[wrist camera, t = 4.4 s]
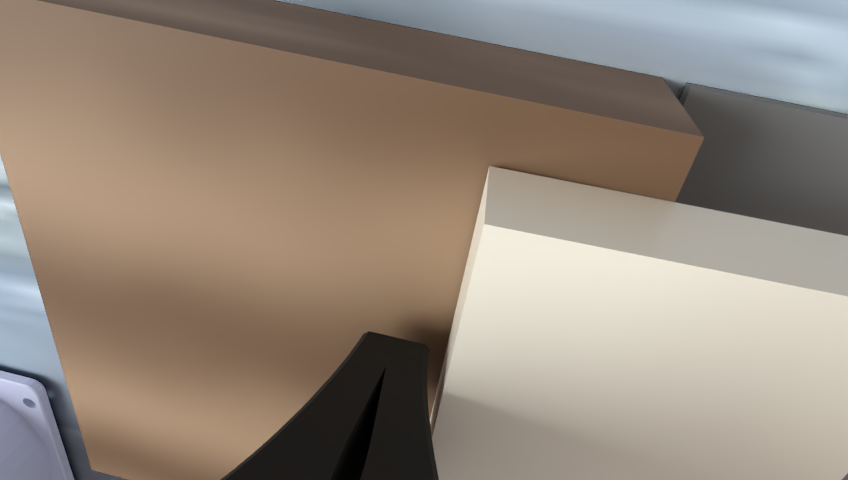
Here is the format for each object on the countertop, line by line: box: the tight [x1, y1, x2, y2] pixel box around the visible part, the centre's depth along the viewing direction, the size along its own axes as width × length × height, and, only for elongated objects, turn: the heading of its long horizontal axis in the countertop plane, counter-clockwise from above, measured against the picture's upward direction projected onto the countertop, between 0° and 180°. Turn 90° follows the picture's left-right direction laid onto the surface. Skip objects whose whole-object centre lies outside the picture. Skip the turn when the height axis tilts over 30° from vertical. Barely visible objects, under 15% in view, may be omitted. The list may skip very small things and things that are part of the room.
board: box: [0, 0, 704, 480], centre depth 14 cm, size 14×13×4 cm
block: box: [430, 166, 848, 480], centre depth 11 cm, size 10×7×2 cm
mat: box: [675, 82, 848, 480], centre depth 15 cm, size 14×14×1 cm
